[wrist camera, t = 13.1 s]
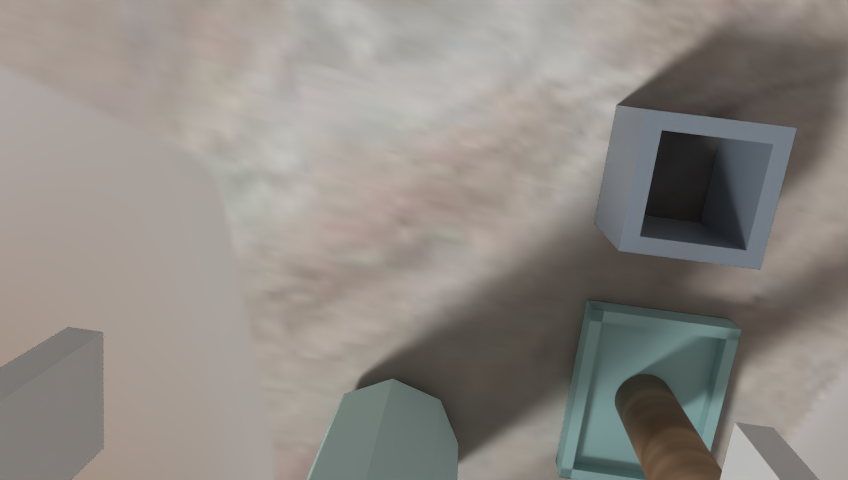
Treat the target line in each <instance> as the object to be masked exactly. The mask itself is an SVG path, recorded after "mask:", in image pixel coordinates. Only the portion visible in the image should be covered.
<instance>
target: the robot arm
mask: <svg viewBox="0 0 848 480" xmlns="http://www.w3.org/2000/svg"><path fill="white" fill-rule="evenodd" d="M103 406H104V401H103V332H99V331H92V330H86V329H79V328H72V327H67V328H65V329H64V330H62V331H60V332H59V333H57V334H55V335H54V336H52V337H51V338H49V339H47V340H46V341H44V342H42V343H40V344H39V345H37V346H35V347H34V348H32V349H30V350H29V351H27V352H25V353H24V354H22V355H20V356H19V357H17V358H15V359H14V360H12V361H10V362H9V363H7V364H5V365H4V366H2V367H0V480H72V479H73V478H74V477H75V476H76V475H77V474H78V473H79V472H80V471H81V470H82V469H83V468H84V467H85V466H86V465H87V464H88V463H89V462H90V461H91V460H92V459H93V458H94V457H95V456H96V455H97V454H98V453H99V452H100V451H101V450H102V449H103V447H104V425H103V424H104V423H103V422H104V421H103V420H104V416H103V415H104V408H103ZM720 480H819V479H818V478H817V477H816V476H815V474H814V473H813V472H812V471H811V470H810V469H809V468H808V466H807V465H806V464H805V463H804V462H803V461H802V460H801V458H799V456H798V455H797V454H796V453H795V452H794V451H793V449H792V448H791V447H790V446H789V445H788V444H787V443H786V441H785V440H784V439H783V438H782V437H781V436H780V435H779V434H778V432H777V431H776V430H775V429H774V428H771V427H764V426H757V425H750V424H743V423H736V422H735V424H734V428H733V432H732V436H731V439H730V443H729V447H728V451H727V455H726V458H725V462H724V466H723V470H722V473H721V477H720Z"/></svg>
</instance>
